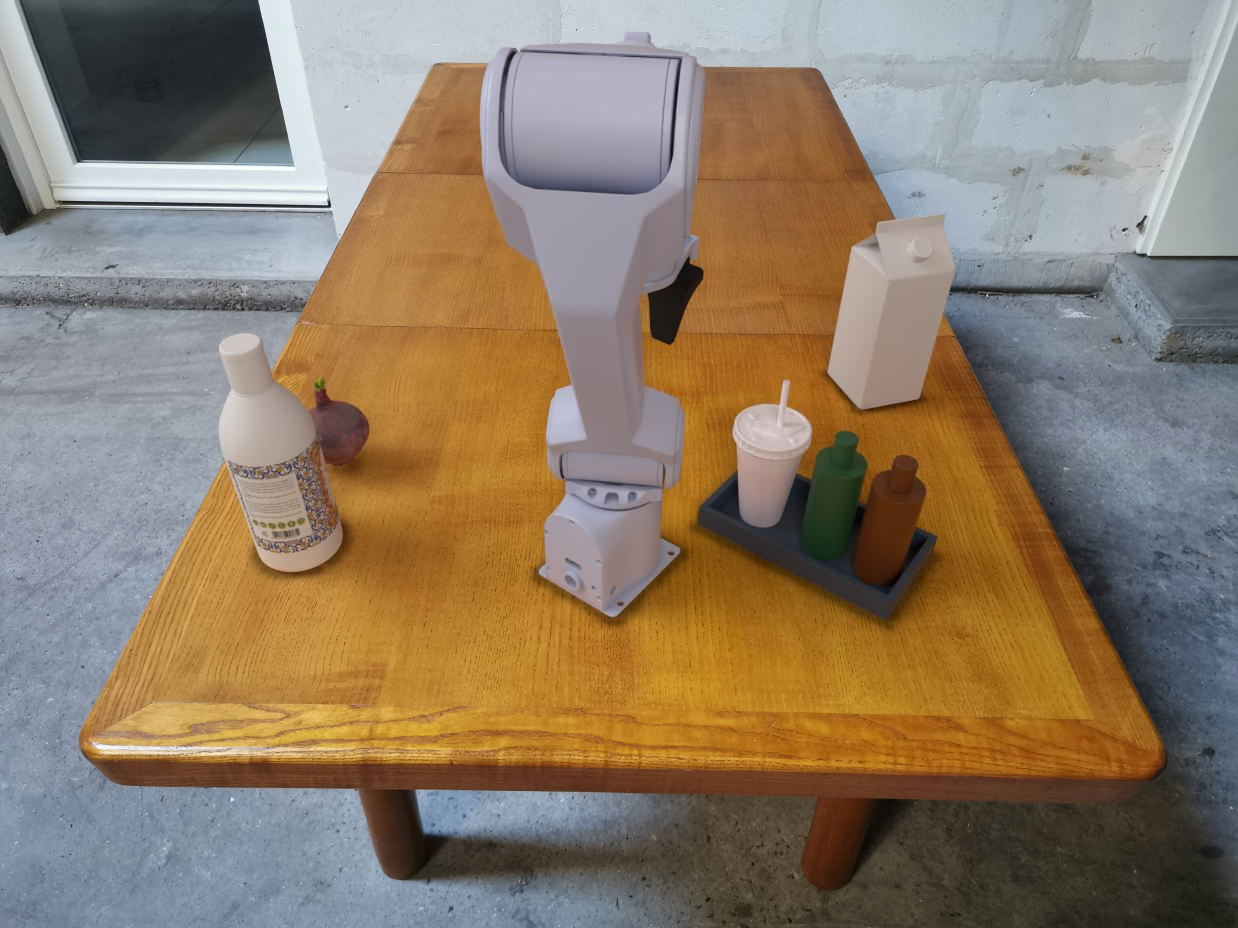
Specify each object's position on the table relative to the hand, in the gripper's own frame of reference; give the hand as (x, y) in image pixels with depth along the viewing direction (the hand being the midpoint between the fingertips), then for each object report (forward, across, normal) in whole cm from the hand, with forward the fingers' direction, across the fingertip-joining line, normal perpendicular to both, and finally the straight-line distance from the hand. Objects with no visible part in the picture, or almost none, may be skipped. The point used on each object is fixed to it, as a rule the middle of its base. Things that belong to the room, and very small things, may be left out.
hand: (637, 358), depth 78 cm
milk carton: (+11, -24, +13) cm, 30 cm away
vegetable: (+10, +19, -20) cm, 30 cm away
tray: (+10, +1, +20) cm, 22 cm away
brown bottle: (+10, +1, +25) cm, 27 cm away
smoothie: (+10, +1, +14) cm, 17 cm away
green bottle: (+10, +1, +21) cm, 23 cm away
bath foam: (+10, +28, -14) cm, 33 cm away
